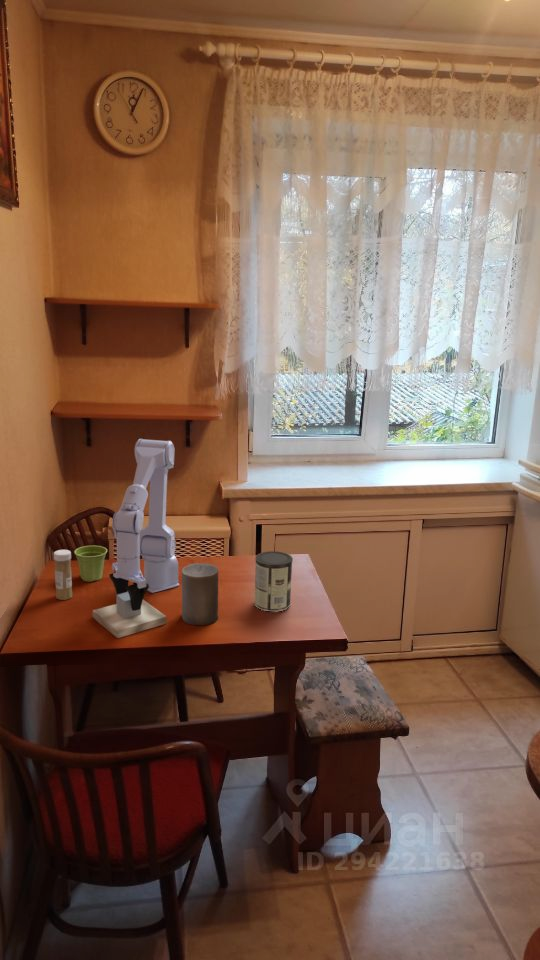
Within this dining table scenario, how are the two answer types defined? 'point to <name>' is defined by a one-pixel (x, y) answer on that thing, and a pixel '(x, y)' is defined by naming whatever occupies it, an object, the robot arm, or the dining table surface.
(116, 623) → the birch base
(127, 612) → the grey block
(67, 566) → the sprinkles bottle
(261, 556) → the coffee can
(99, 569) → the plant pot
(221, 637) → the dining table surface
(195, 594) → the pillar candle
